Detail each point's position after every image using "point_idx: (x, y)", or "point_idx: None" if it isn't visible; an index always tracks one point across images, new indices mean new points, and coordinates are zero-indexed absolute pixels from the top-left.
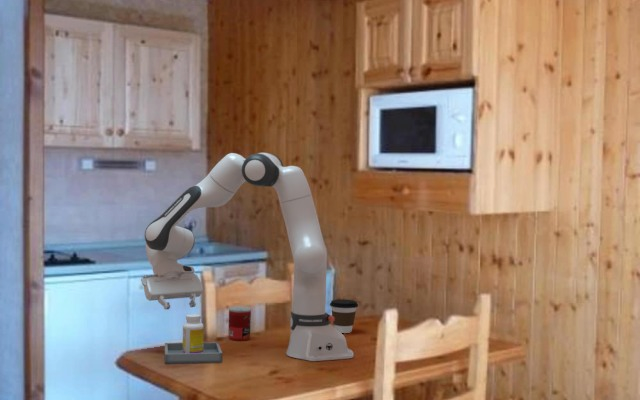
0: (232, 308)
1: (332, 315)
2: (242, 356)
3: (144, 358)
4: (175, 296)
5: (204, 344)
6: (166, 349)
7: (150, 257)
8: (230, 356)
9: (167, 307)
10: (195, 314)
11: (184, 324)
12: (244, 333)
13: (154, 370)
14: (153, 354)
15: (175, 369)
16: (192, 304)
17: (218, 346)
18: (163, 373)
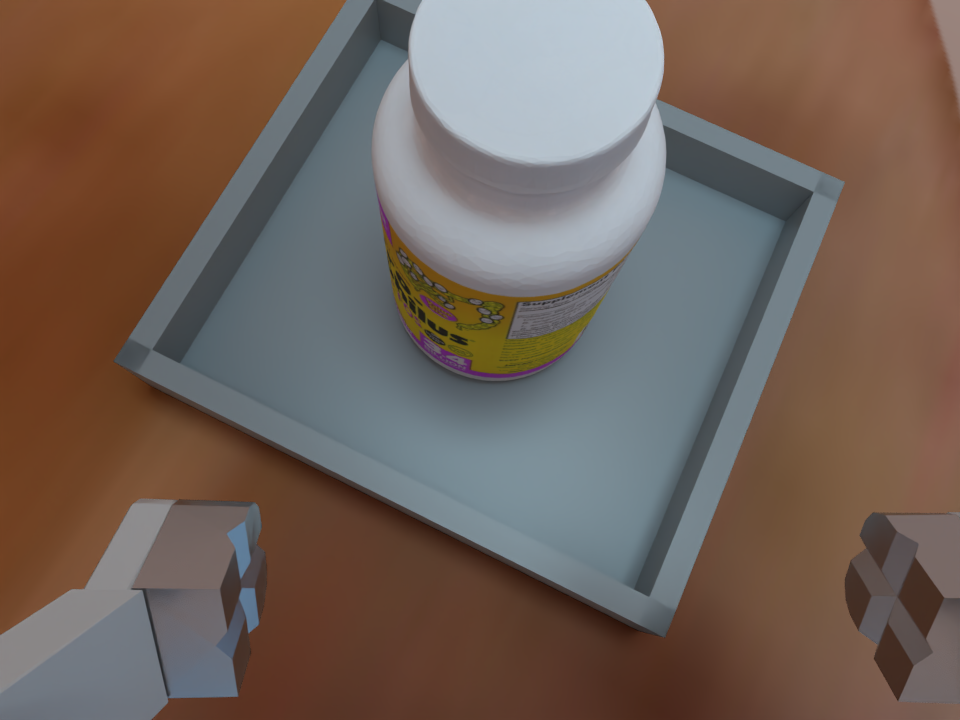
0: None
1: None
2: (95, 106)
3: (904, 497)
4: None
5: (268, 409)
6: (762, 352)
7: None
8: (183, 158)
9: (940, 516)
10: (463, 99)
11: (654, 164)
12: None
13: (945, 105)
14: (773, 603)
15: (789, 51)
16: (242, 502)
17: (236, 195)
18: (909, 7)
